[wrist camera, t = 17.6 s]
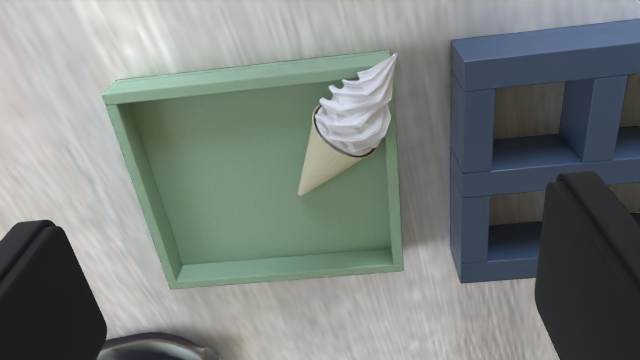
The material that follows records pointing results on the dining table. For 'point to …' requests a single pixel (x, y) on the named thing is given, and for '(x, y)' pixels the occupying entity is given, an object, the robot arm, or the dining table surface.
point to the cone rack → (536, 151)
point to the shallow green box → (254, 175)
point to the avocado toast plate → (154, 348)
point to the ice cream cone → (348, 125)
